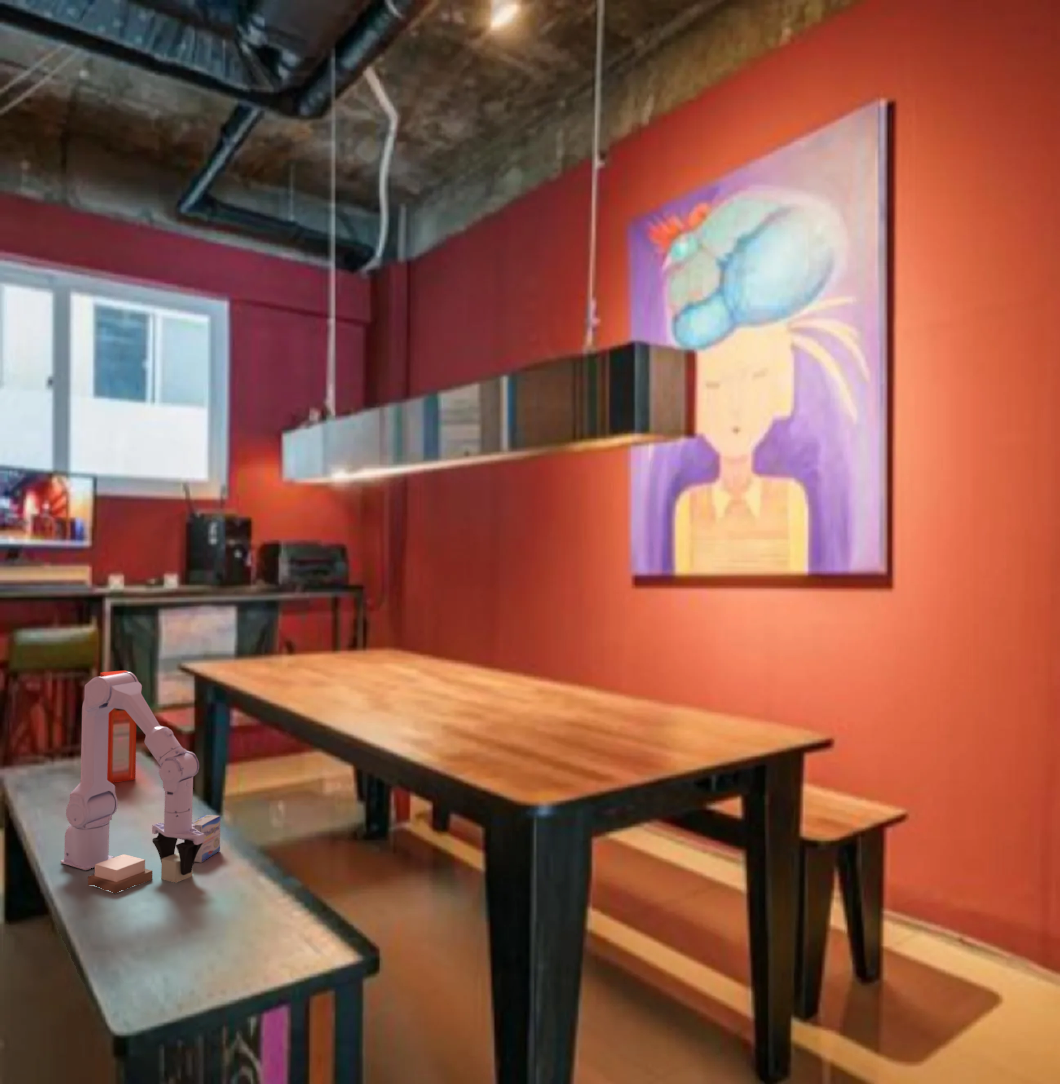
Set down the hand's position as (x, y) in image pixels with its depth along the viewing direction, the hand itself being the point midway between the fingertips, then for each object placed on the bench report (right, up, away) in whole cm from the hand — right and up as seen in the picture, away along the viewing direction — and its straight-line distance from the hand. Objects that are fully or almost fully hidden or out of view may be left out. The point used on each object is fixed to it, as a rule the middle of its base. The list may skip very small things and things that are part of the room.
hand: (177, 871), depth 185 cm
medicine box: (+1, -2, +13) cm, 13 cm away
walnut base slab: (-11, -2, -3) cm, 11 cm away
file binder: (-54, -2, +81) cm, 97 cm away
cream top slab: (-11, +1, -3) cm, 11 cm away
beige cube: (0, -2, 0) cm, 2 cm away
